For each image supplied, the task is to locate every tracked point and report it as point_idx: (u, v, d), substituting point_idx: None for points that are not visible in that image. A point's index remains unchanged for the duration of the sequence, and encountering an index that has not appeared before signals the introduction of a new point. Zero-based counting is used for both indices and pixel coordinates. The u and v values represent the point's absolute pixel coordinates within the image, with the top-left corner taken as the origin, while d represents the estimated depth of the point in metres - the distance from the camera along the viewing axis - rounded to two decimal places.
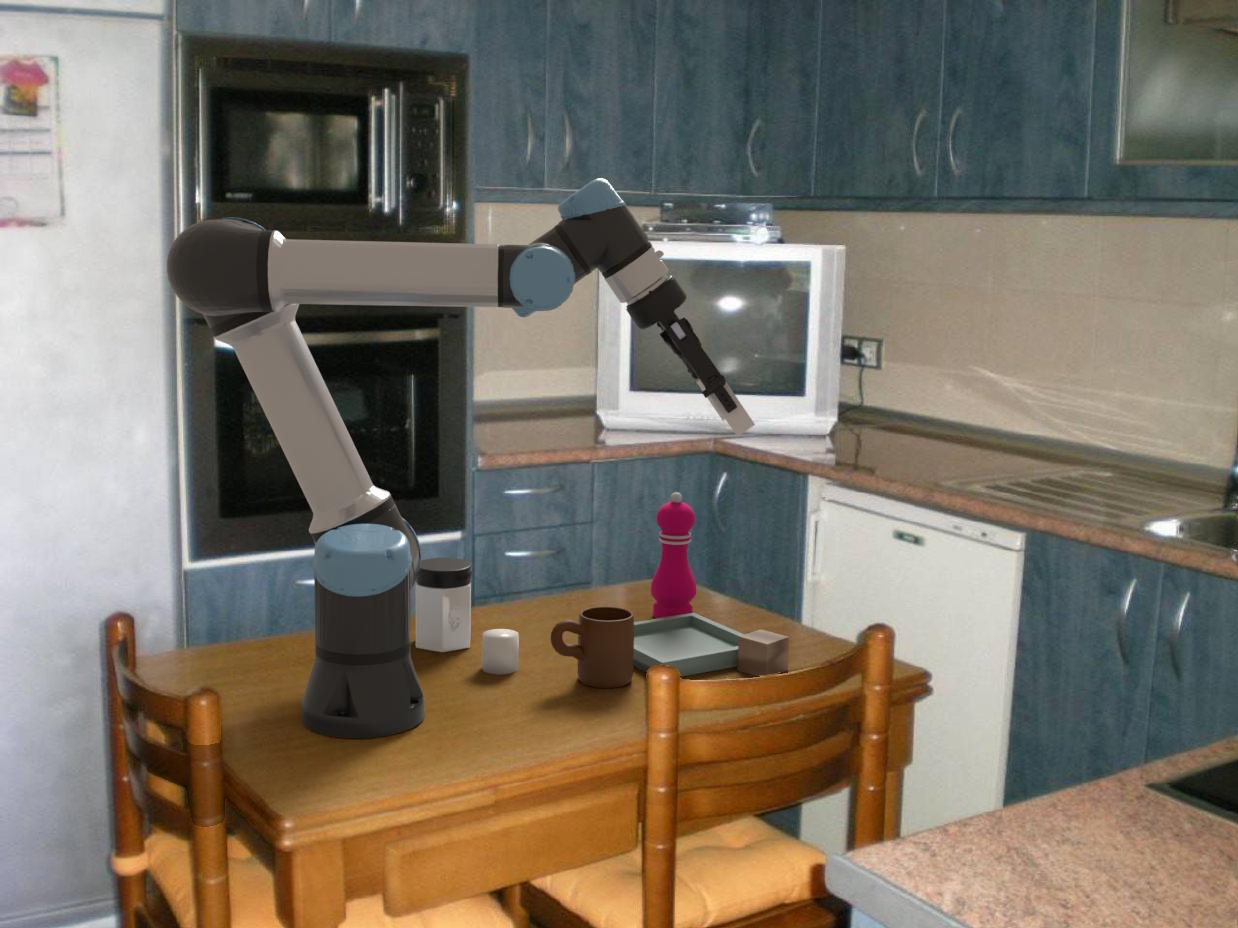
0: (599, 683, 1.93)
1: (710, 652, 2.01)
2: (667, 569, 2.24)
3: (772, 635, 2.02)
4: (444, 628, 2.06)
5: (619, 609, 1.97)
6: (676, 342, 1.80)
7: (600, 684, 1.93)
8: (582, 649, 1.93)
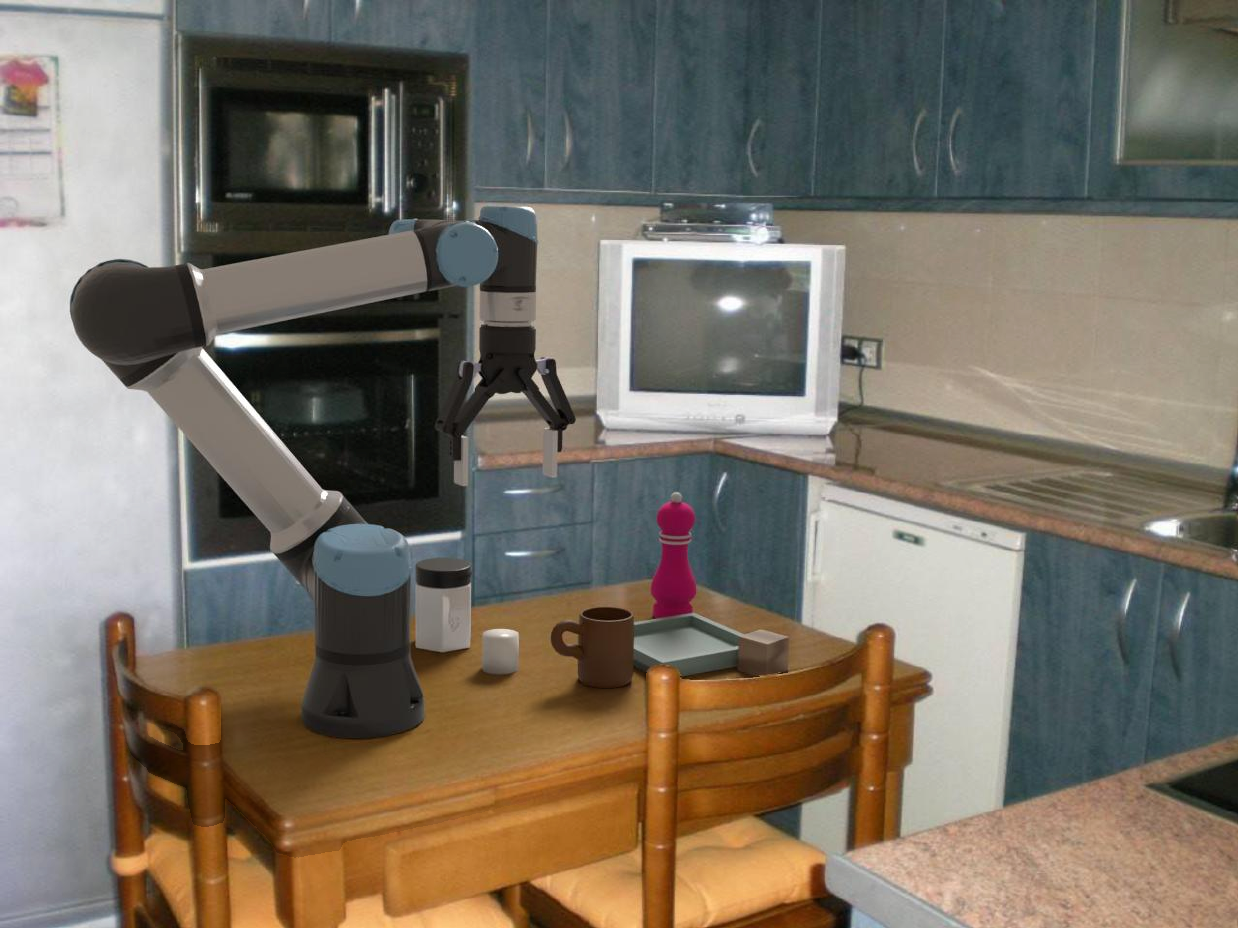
0: (599, 683, 1.93)
1: (710, 652, 2.01)
2: (667, 569, 2.24)
3: (772, 635, 2.02)
4: (444, 628, 2.06)
5: (619, 609, 1.97)
6: (456, 376, 1.90)
7: (600, 684, 1.93)
8: (582, 649, 1.93)
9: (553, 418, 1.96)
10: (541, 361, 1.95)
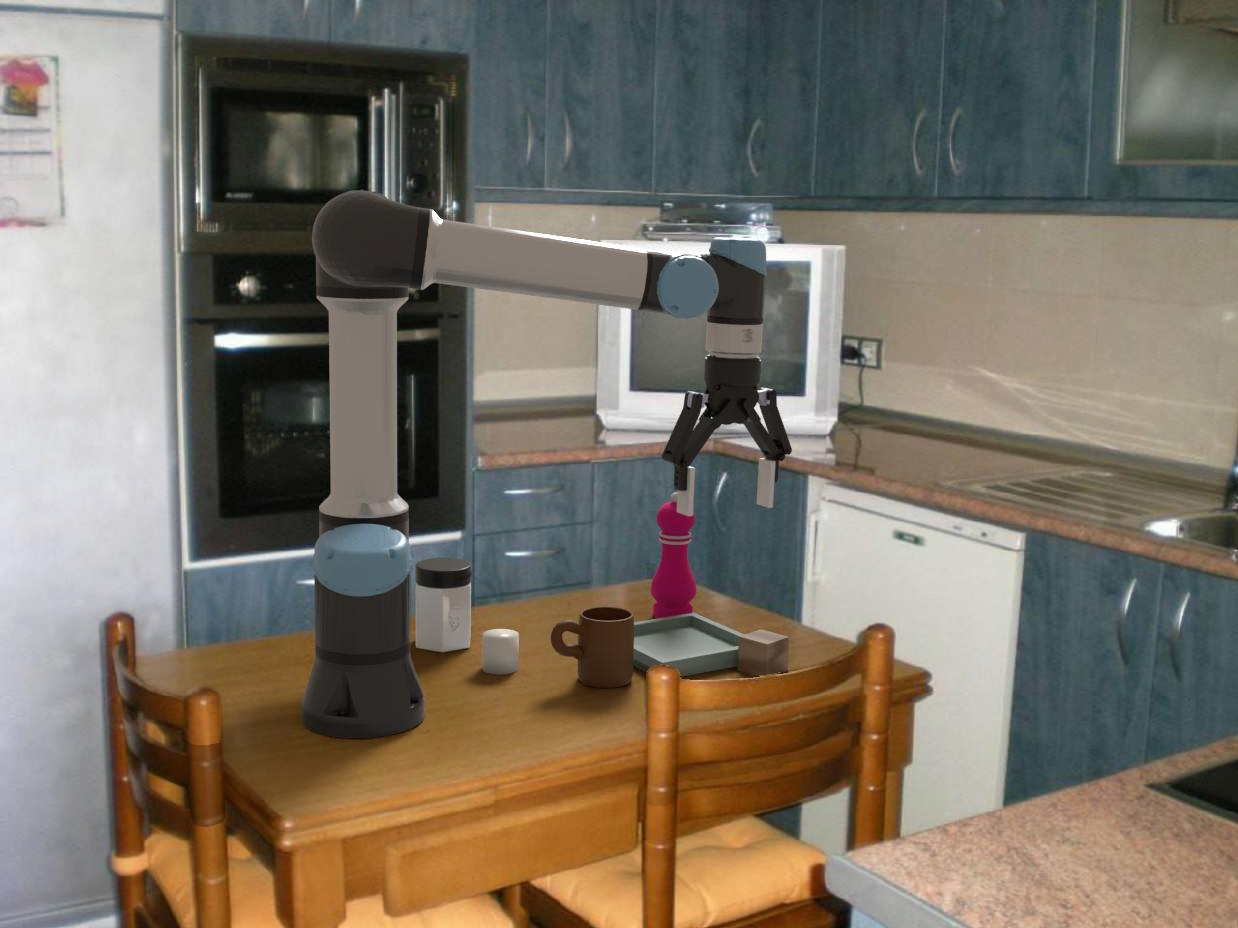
0: (599, 683, 1.93)
1: (710, 652, 2.01)
2: (667, 569, 2.24)
3: (772, 635, 2.02)
4: (444, 628, 2.06)
5: (619, 609, 1.97)
6: (684, 406, 1.91)
7: (600, 684, 1.93)
8: (582, 649, 1.93)
9: (772, 449, 1.97)
10: (762, 392, 1.96)
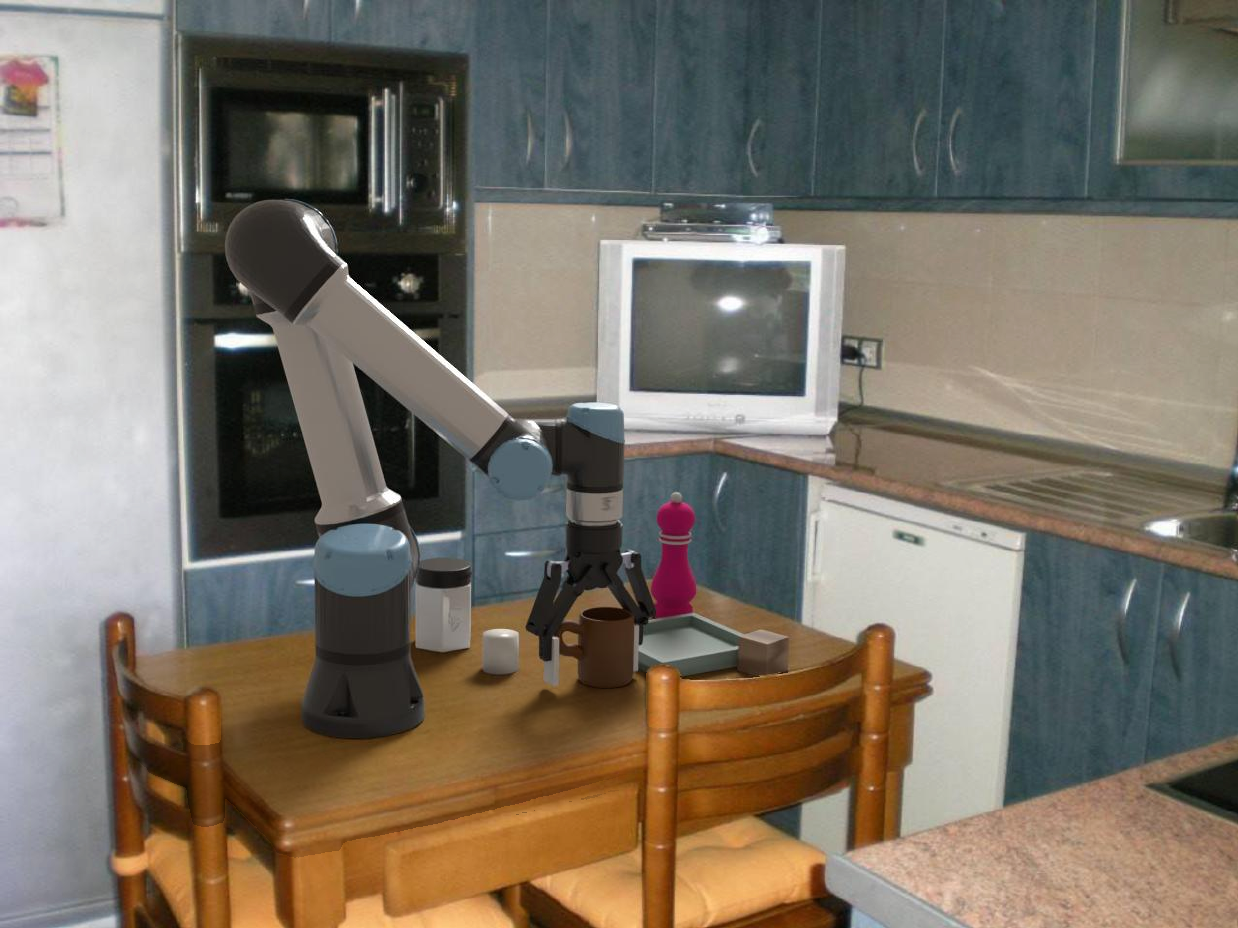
0: (599, 683, 1.93)
1: (710, 652, 2.01)
2: (667, 569, 2.24)
3: (772, 635, 2.02)
4: (444, 628, 2.06)
5: (619, 609, 1.97)
6: (544, 575, 1.90)
7: (600, 684, 1.93)
8: (582, 649, 1.93)
9: (635, 612, 1.96)
10: (626, 555, 1.94)
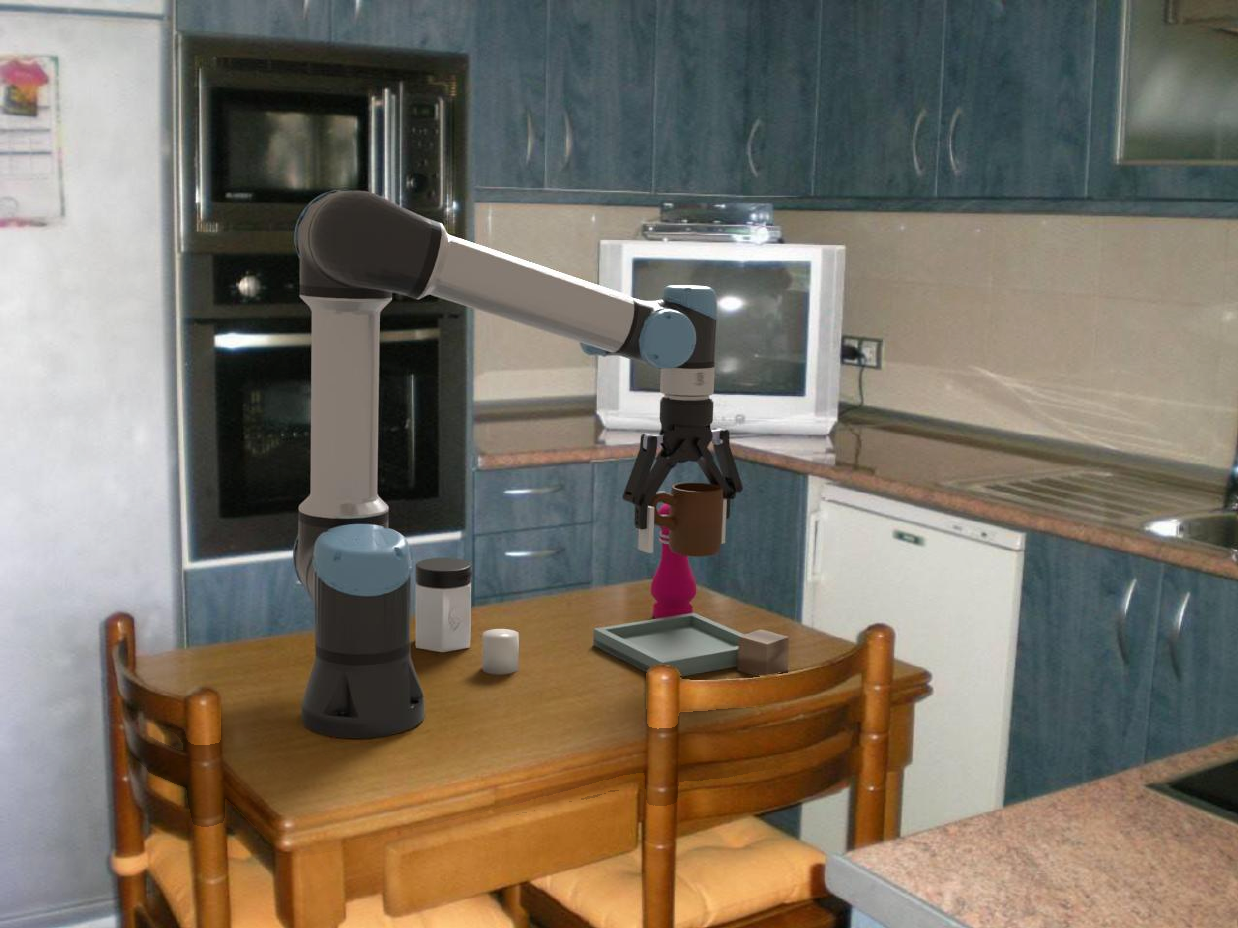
0: (691, 551, 2.03)
1: (710, 652, 2.01)
2: (667, 569, 2.24)
3: (772, 635, 2.02)
4: (444, 628, 2.06)
5: (708, 484, 2.08)
6: (640, 448, 2.01)
7: (692, 552, 2.04)
8: (674, 520, 2.04)
9: (723, 487, 2.07)
10: (716, 432, 2.06)
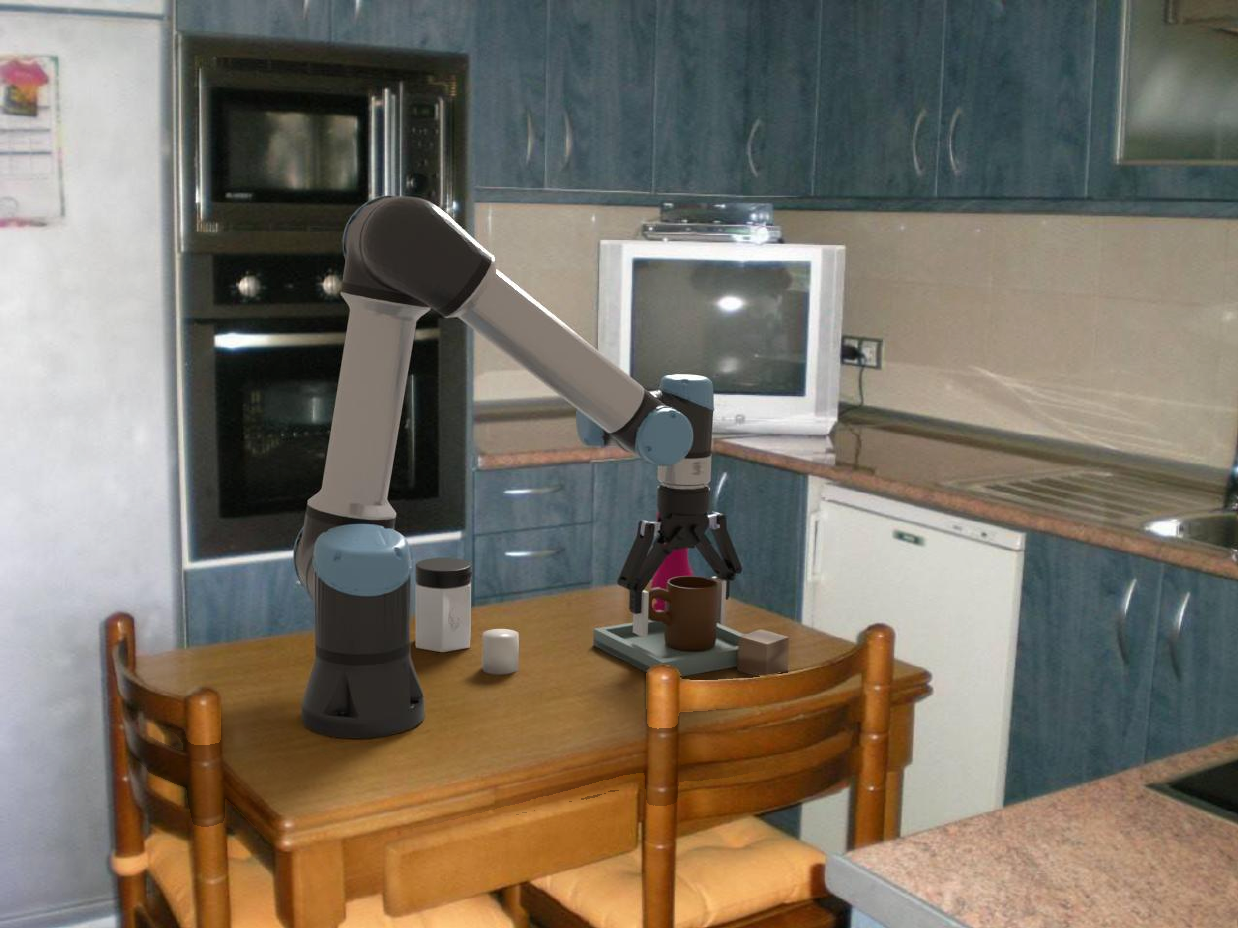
0: (686, 647, 2.06)
1: (710, 652, 2.01)
2: (667, 569, 2.24)
3: (772, 635, 2.02)
4: (444, 628, 2.06)
5: (703, 578, 2.11)
6: (637, 534, 2.03)
7: (687, 648, 2.06)
8: (670, 615, 2.06)
9: (722, 569, 2.09)
10: (712, 517, 2.08)
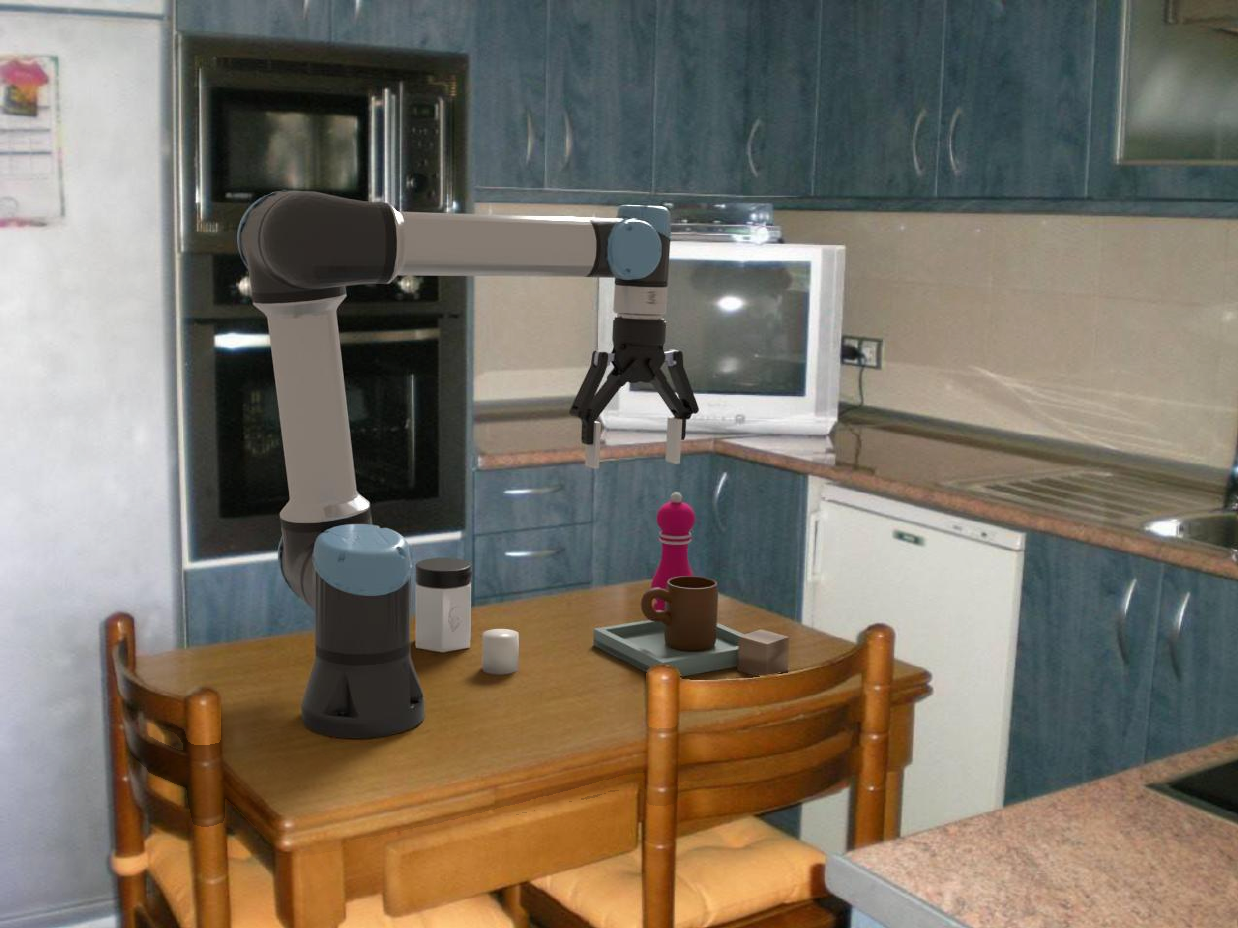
0: (686, 647, 2.06)
1: (710, 652, 2.01)
2: (667, 569, 2.24)
3: (772, 635, 2.02)
4: (444, 628, 2.06)
5: (703, 578, 2.11)
6: (591, 364, 2.01)
7: (687, 648, 2.06)
8: (670, 615, 2.06)
9: (678, 407, 2.07)
10: (669, 353, 2.06)
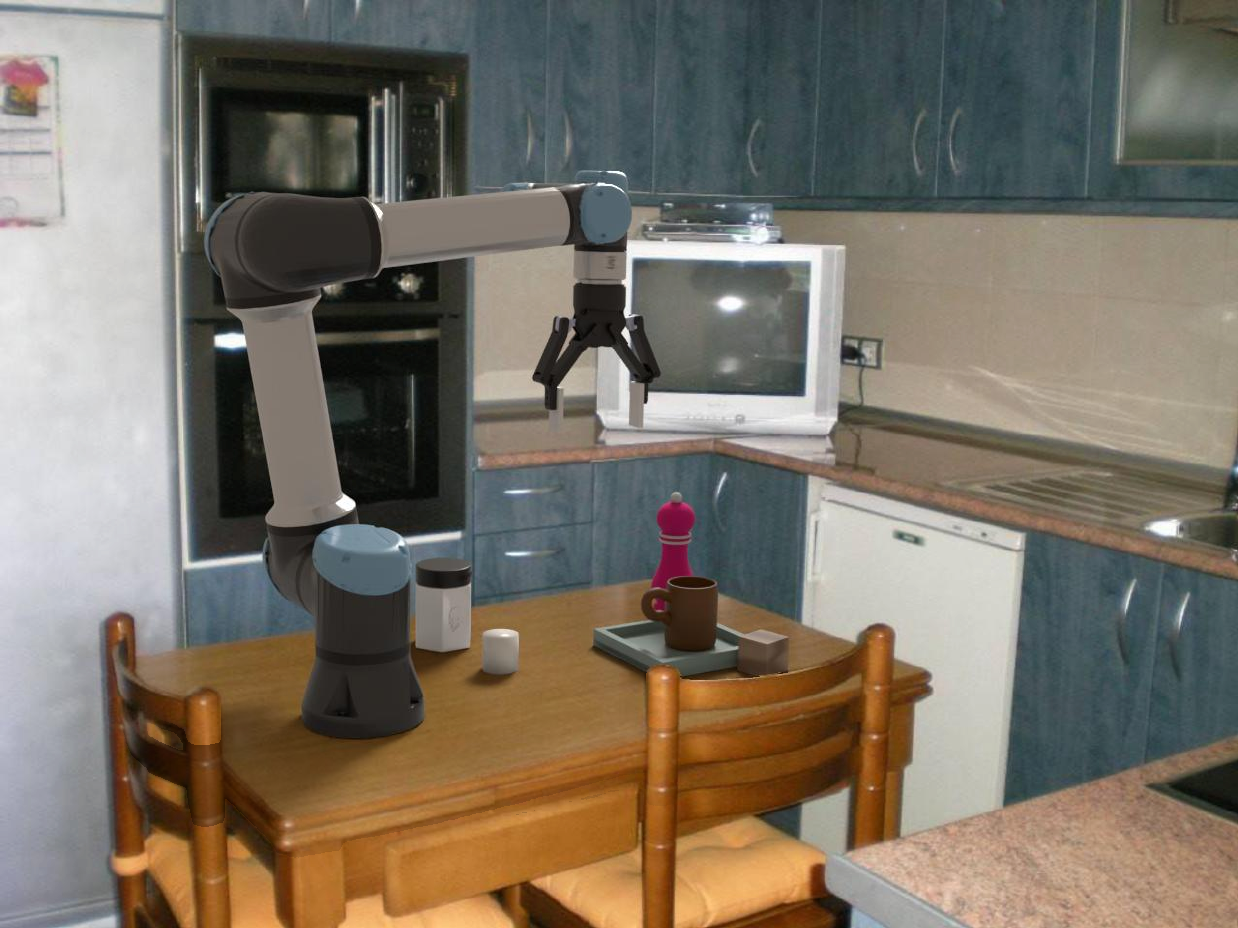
0: (686, 647, 2.06)
1: (710, 652, 2.01)
2: (667, 569, 2.24)
3: (772, 635, 2.02)
4: (444, 628, 2.06)
5: (703, 578, 2.11)
6: (552, 330, 2.03)
7: (687, 648, 2.06)
8: (670, 615, 2.06)
9: (640, 371, 2.09)
10: (630, 318, 2.08)
